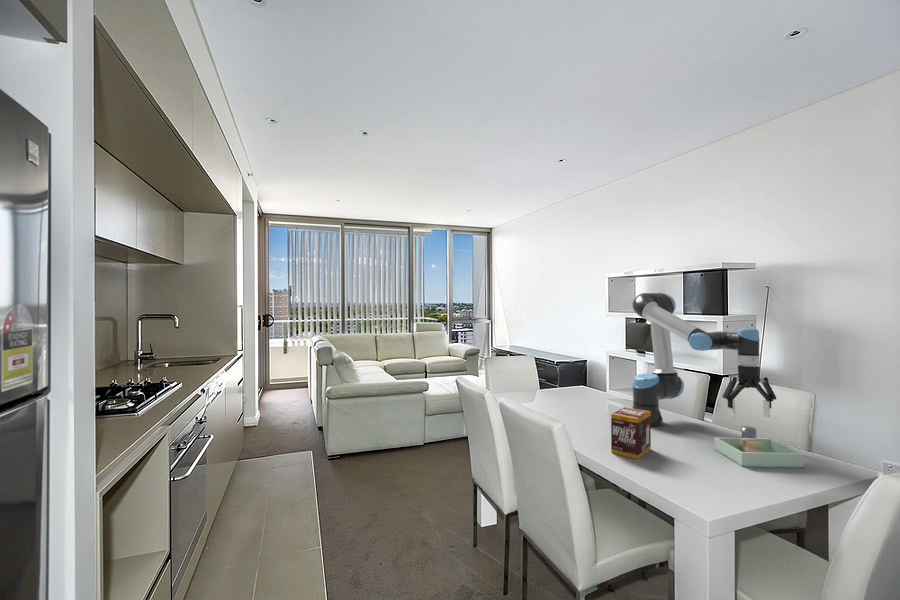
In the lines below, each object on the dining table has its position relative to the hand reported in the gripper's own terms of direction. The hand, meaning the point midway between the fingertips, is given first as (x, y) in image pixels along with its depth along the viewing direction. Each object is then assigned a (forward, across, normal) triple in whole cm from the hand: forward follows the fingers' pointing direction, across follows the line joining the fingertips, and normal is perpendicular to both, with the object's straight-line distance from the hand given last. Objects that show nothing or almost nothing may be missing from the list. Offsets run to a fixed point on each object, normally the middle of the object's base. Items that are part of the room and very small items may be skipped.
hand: (749, 416), depth 176 cm
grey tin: (+12, 0, 0) cm, 12 cm away
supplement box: (+12, -52, -11) cm, 55 cm away
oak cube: (+12, -7, -12) cm, 18 cm away
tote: (+12, -7, -16) cm, 21 cm away
